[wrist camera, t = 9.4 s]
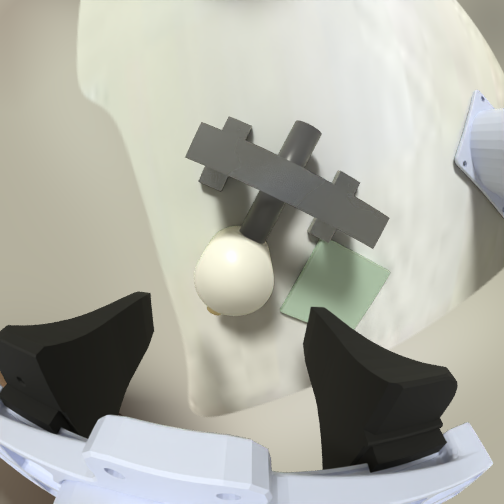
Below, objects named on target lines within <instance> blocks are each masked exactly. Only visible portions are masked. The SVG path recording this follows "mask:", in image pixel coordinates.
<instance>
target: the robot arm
mask: <svg viewBox="0 0 504 504" xmlns="http://www.w3.org/2000/svg"><path fill="white" fill-rule="evenodd" d="M481 99H482V100H481ZM463 162H464V166H463ZM455 163H456V165H457V166H458V167H459V168H460V169H461V170H462V171H463V172H464V173H465V174H466V175H467V176H468V177H469V178H470V179H471V180H472V181H473V182H474V184H475V185H476V186H477V187H478V188H479V189H480V190H481V191H482V192H483V194H484V195H485V196H486V197H487V198H488V199H489V201H490V202H491V203H492V204H493V205H494V207H495V208H496V209H497V210H498V212H499V213H500V214H501V215H502V217H503V218H504V108H501V109H494V107H493V106H492V105H491V104H490V102H489V101H488V100H487V99H486V98H485V97H484V95H483V94H482V93H481V92H480V91H479V90H475V91H474V92H473V96H472V100H471V105H470V109H469V113H468V116H467V120H466V124H465V127H464V131H463V134H462V137H461V140H460V143H459V146H458V149H457V152H456V155H455ZM153 332H154V326H153V317H152V307H151V295H150V293H145V292H135V293H133V294H130V295H128V296H126V297H123V298H121V299H119V300H117V301H115V302H113V303H111V304H109V305H106V306H104V307H102V308H99V309H97V310H95V311H93V312H90V313H87V314H84V315H82V316H78V317H75V318H72V319H68V320H63V321H59V322H54V323H48V324H41V325H27V326H19V325H16V326H15V325H14V326H11V325H8V326H6V327H5V328H3V329H2V330H1V331H0V371H1V373H2V375H3V377H4V379H5V381H6V382H7V384H6V386H5V387H4V388H3V387H2V386H1V385H0V457H1V458H2V459H3V460H4V461H5V462H7V463H8V464H9V465H10V466H12V467H13V468H14V469H16V470H17V471H18V472H20V473H21V474H22V475H24V476H25V477H26V478H28V479H29V480H31V481H32V482H33V483H35V484H36V485H38V486H39V487H41V488H43V489H44V490H46V491H47V492H49V493H50V494H52V495H54V496H55V497H56V499H55V501H54V504H441V503H443V502H445V501H447V500H449V499H451V498H453V497H454V496H456V495H457V494H459V493H460V492H461V491H462V490H464V489H465V488H466V487H467V486H469V485H470V484H471V483H472V482H474V481H475V480H476V479H477V478H478V477H479V476H481V475H482V474H483V473H484V472H485V471H486V470H487V469H488V468H489V467H491V466H492V464H493V462H492V460H491V458H490V457H489V455H488V453H487V451H486V450H485V448H484V446H483V444H482V443H481V441H480V439H479V438H478V436H477V435H476V433H475V431H474V430H473V428H472V427H471V425H470V424H469V422H466V423H464V424H462V425H459V426H457V427H454V428H451V429H450V430H448V431H446V432H445V433H444V434H442V432H441V431H440V429H439V428H441V427H442V426H443V423H442V421H441V419H440V417H441V415H442V414H443V412H444V411H445V410H446V408H447V407H448V405H449V404H450V402H451V401H452V399H453V397H454V396H455V393H456V390H457V381H456V379H455V378H454V377H453V375H452V374H451V373H450V371H449V370H448V369H447V368H446V367H441V366H437V365H431V364H426V363H422V362H418V361H415V360H412V359H409V358H406V357H403V356H401V355H398V354H396V353H393V352H391V351H389V350H387V349H385V348H383V347H381V346H379V345H377V344H375V343H373V342H372V341H370V340H368V339H367V338H365V337H364V336H362V335H361V334H359V333H358V332H356V331H355V330H354V329H352V328H351V327H349V326H348V325H347V324H346V323H344V322H343V321H342V320H340V319H339V318H338V317H337V316H335V315H334V314H333V313H332V312H330V311H329V310H328V309H326V308H325V307H311V308H310V313H309V318H308V323H307V328H306V333H305V337H304V342H303V347H304V356H305V362H306V366H307V370H308V373H309V377H310V381H311V384H312V388H313V391H314V394H315V399H316V403H317V408H318V416H319V422H320V433H321V444H322V463H323V470H317V471H304V472H275V471H272V470H271V457H270V454H269V451H268V449H267V448H266V447H264V446H262V445H260V444H258V443H256V442H255V441H253V440H251V439H249V438H243V437H239V436H234V435H229V434H220V433H210V432H202V431H195V430H188V429H182V428H176V427H171V426H165V425H160V424H156V423H151V422H147V421H142V420H138V419H134V418H131V417H125V416H118V413H119V410H120V407H121V403H122V401H123V398H124V395H125V392H126V389H127V387H128V385H129V382H130V380H131V378H132V377H133V375H134V373H135V371H136V369H137V367H138V365H139V363H140V362H141V360H142V358H143V356H144V354H145V352H146V350H147V349H148V346H149V344H150V341H151V338H152V335H153Z"/></svg>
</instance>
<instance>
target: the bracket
mask: <svg viewBox="0 0 504 504" xmlns="http://www.w3.org/2000/svg"><path fill="white" fill-rule="evenodd" d="M251 129H252V126H251V125H248V124H246V123H244V122H241V121H239V120H237V119H234V118H232V117H228V119H227V121H226V123H225V125H224V127H223V129H222V130H220V129H218V128H215V127H213V126H210V125H208V124H205V123H203V122H201V124H200V126H199V128H198V130H197V133H196V135H195V137H194V139H193V141H192V143H191V145H190V148H189V150H188V152H187V154H186V157H185V158H188V159H190V160H193V161H195V162H197V163H200V164H202V165H205V168H204V170H203V172H202V174H201V177H200V179H199V181H198V182H200V183H203V184H205V185H207V186H209V187H212V188H214V189H216V190H218V191H222V189H223V187H224V185H225V183H226V181H227V178H228V176H230V177H232V178H234V179H236V180H239V181H241V182H243V183H245V184H247V185H250V186H252V187H254V188H256V189H258V190H260V191H262V192H265V193H267V194H269V195H271V196H273V197H275V198H277V199H279V200H281V201H283V202H285V203H287V204H289V205H291V206H293V207H295V208H297V209H299V210H301V211H303V212H305V213H307V214H309V215H311V216H313V217H314V219H313V221H312V223H311V225H310V227H309V229H308V233H310V234H312V235H314V236H316V237H318V238H320V239H322V240H324V241H326V242H328V243H329V242H330V241H331V239H332V237H333V235H334V233H335V231H336V229H338V230H340V231H342V232H344V233H345V234H347V235H349V236H351V237H353V238H355V239H356V240H358V241H360V242H362V243H364V244H365V245H367V246H369V247H371V248H372V249H373V248H374V246H375V245H376V243H377V241H378V239H379V237H380V235H381V233H382V232H383V230H384V228H385V226H386V224H387V222H388V220H389V217H387V216H386V215H384V214H383V213H381V212H380V211H378V210H376V209H375V208H373V207H372V206H370V205H368V204H367V203H365V202H363V201H362V200H360V199H358V198H357V197H355V196H354V194H355V192H356V190H357V188H358V186H359V184H360V182H358V181H357V180H355V179H354V178H352V177H350V176H348V175H347V174H345V173H343V172H342V171H337V173H336V175H335V177H334V180H333V182H332V183H331V182H329V181H327V180H325V179H323V178H322V177H320V176H318V175H316V174H314V173H312V172H310V171H308V170H306V169H305V168H303V167H301V166H299V165H297V164H295V163H293V162H291V161H289V160H287V159H285V158H283V157H281V156H279V155H277V154H274V153H272V152H270V151H268V150H266V149H264V148H262V147H260V146H257V145H255V144H253V143H251V142H248V141H246V139H247V137H248V135H249V133H250V131H251Z"/></svg>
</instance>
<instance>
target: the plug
mask: <svg viewBox="0 0 504 504" xmlns="http://www.w3.org/2000/svg"><path fill="white" fill-rule="evenodd" d="M321 135H322V133H321V132H320V131H319V130H318V129H316V128H315V127H313V126H311V125H309V124H307V123H305V122H302V121H296V122H295V124H294V125H293V127H292V129H291V131H290V133H289V135H288V137H287V139H286V141H285V142H284V144H283V146H282V148H281V150H280V152H279V154H278V155H279V156H281V157H283V158H285V159H287V160H289V161H291V162H293V163H295V164H297V165H299V166H301V167H303V168H304V167H305V165H306V163H307V161H308V159H309V158H310V156H311V154H312V152H313V150H314V148H315V146H316V144H317V142H318V140H319V138H320V136H321ZM284 205H285V202H283V201H281V200H279V199H277V198H275V197H273V196H271V195H269V194H267V193H265V192H262V191H259V193H258V194H257V196H256V198H255V200H254V202H253V204H252V206H251V208H250V210H249V212H248V214H247V216H246V218H245V220H244V222H243V224H242V226H231V227H227V228H225V229H222V230H221V231H219V232H218V233H217V234H216V235H215V236H214V237H213V238H212V239H211V241H210V242H209V244H208V246H207V248H206V249H205V251H204V253H203V254H202V256H201V258H200V259H199V261H198V263H197V265H196V268H195V272H194V284H195V288H196V291H197V293H198V295H199V297H200V298H201V300H202V301H203V302H204V303H205V304H206V305H207V310H208V311H209V312H210V313H212V314H214V315H221V314H223V315H228V316H243V315H247V314H250V313H253V312H255V311H256V310H258V309H259V308H261V307H262V306H263V305H264V304H265V303H266V302H267V300H268V299H269V297H270V295H271V293H272V290H273V286H274V275H273V269H272V263H271V257H270V251H269V247H268V245H267V243H266V239H267V237H268V235H269V234H270V232H271V230H272V228H273V226H274V224H275V222H276V220H277V218H278V217H279V215H280V213H281V211H282V209H283V207H284Z"/></svg>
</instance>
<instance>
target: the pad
mask: <svg viewBox="0 0 504 504" xmlns="http://www.w3.org/2000/svg"><path fill="white" fill-rule="evenodd" d="M390 273H391V272H390V271H389V270H387V269H385V268H383V267H381V266H380V265H378V264H376V263H374V262H372V261H370V260H369V259H367V258H365V257H363V256H361V255H359V254H357V253H356V252H354V251H352V250H350V249H348V248H346V247H344V246H342V245H340V244H339V243H337V242H335V241H333V240H331V241H330V242H329V243H328V242H326V241H324V240H322V239H319V241H318V243H317V245H316V247H315V248H314V250H313V252H312V254H311V256H310V258H309V259H308V261H307V263H306V265H305V267H304V268H303V270H302V272H301V274H300V276H299V277H298V279H297V281H296V283H295V284H294V286H293V288H292V290H291V291H290V293H289V295H288V296H287V298H286V300H285V302H284V303H283V305H282V307H281V308H280V312H282V313H284V314H287V315H289V316H292V317H295V318H297V319H300V320H302V321H305V322H307V323H308V318H309V313H310V308H311V307H325V308H326V309H328V310H329V311H330V312H332V313H333V314H334V315H335V316H337V317H338V318H339V319H340V320H342V321H343V322H344V323H346V324H347V325H348V326H349V327H351V328H352V329H355V327H356V326H357V324H358V323H359V321H360V320H361V318H362V317H363V315H364V314H365V313H366V311H367V309H368V308H369V306H370V305H371V303H372V302H373V300H374V299H375V297H376V296H377V294H378V292H379V291H380V289H381V288H382V286H383V284H384V283H385V281H386V279H387V278H388V276H389V274H390Z"/></svg>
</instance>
